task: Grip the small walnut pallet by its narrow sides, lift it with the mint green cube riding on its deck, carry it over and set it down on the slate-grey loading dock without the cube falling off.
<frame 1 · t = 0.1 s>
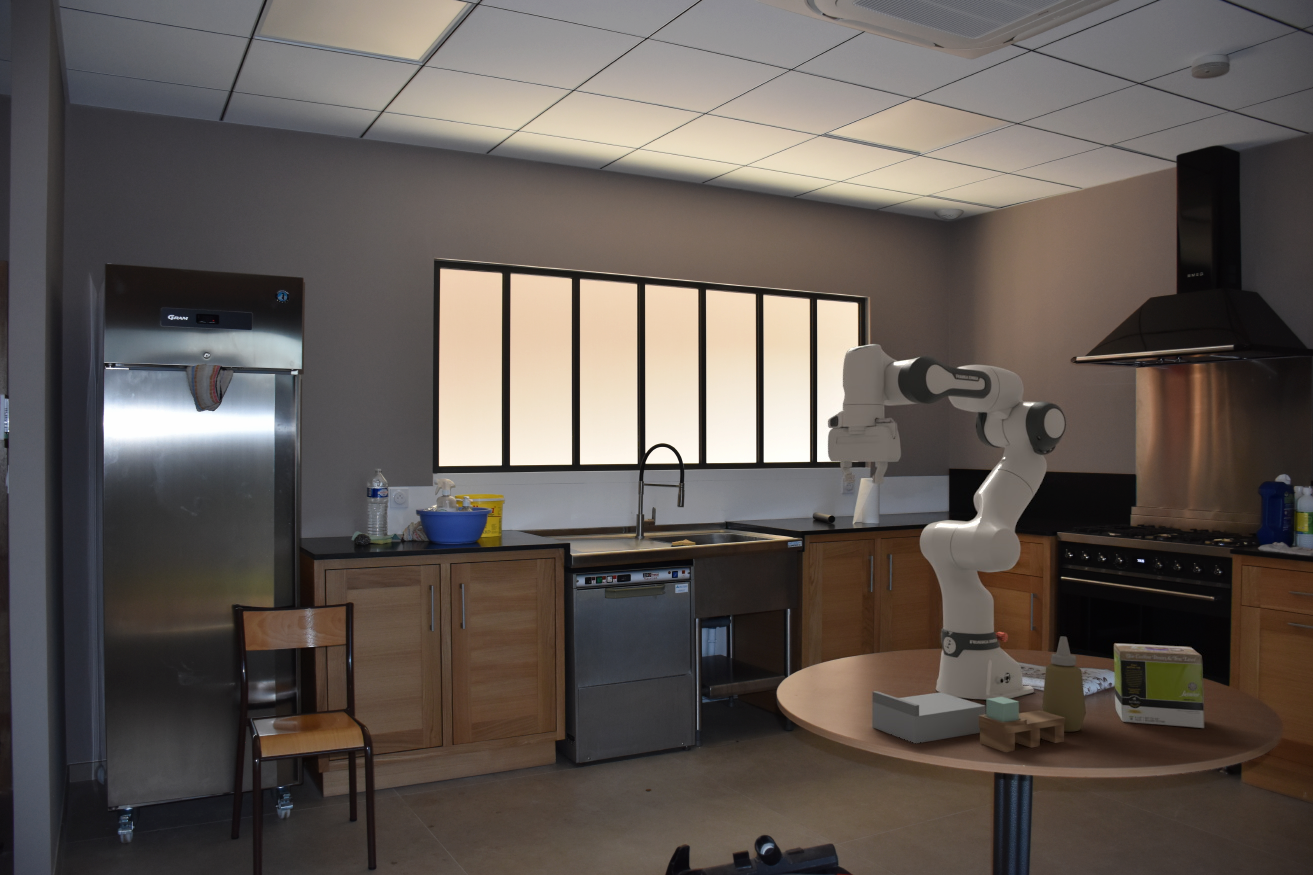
hand: (863, 483, 201), 48 cm above the table, tool pointing down, fingers open, 8 cm apart
dock: (928, 729, 183), on the table
mint green cube: (1002, 721, 173), point 4 cm above the table, touching pallet
squeeze bottle: (1063, 729, 185), on the table
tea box: (1157, 720, 192), on the table
pallet: (1022, 742, 176), on the table, touching mint green cube
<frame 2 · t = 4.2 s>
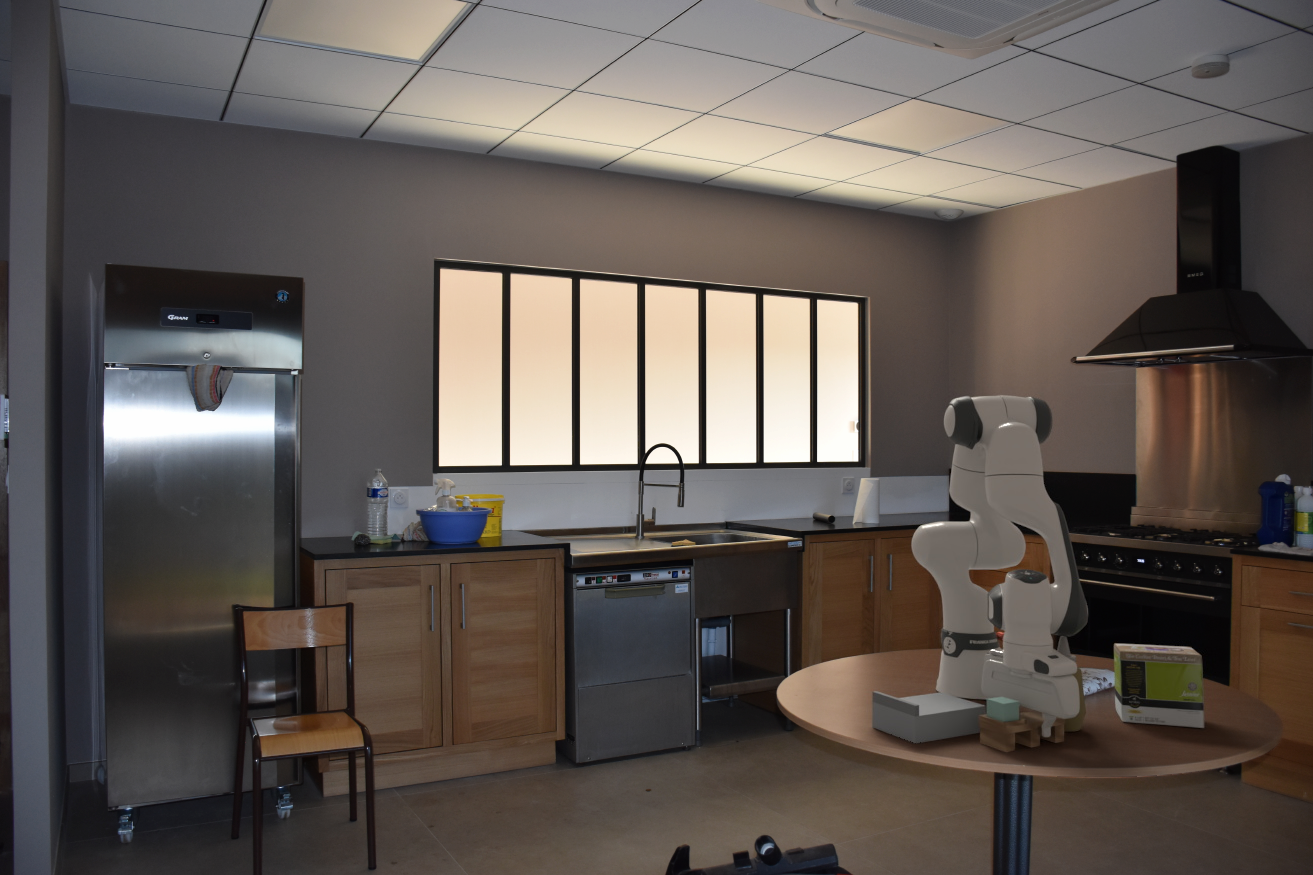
hand: (1028, 730, 176), 2 cm above the table, tool pointing down, fingers closed on pallet, 6 cm apart
pallet: (1022, 742, 176), on the table, touching mint green cube, gripper
everything else where it was.
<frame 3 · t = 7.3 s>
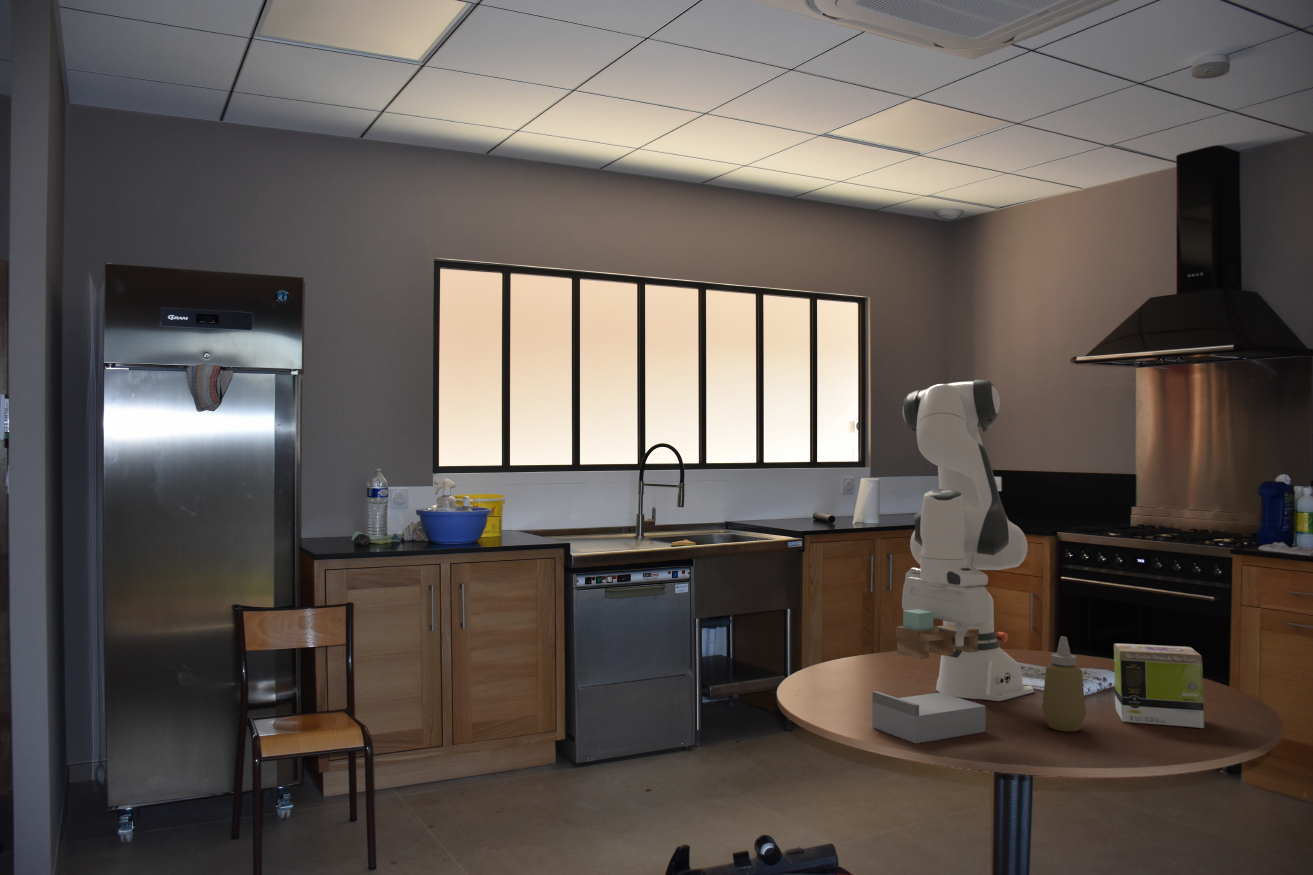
hand: (943, 642, 184), 17 cm above the table, tool pointing down, fingers closed on pallet, 6 cm apart
mint green cube: (918, 632, 181), point 19 cm above the table, touching pallet
pallet: (937, 652, 184), point 15 cm above the table, touching mint green cube, gripper
everything else where it was.
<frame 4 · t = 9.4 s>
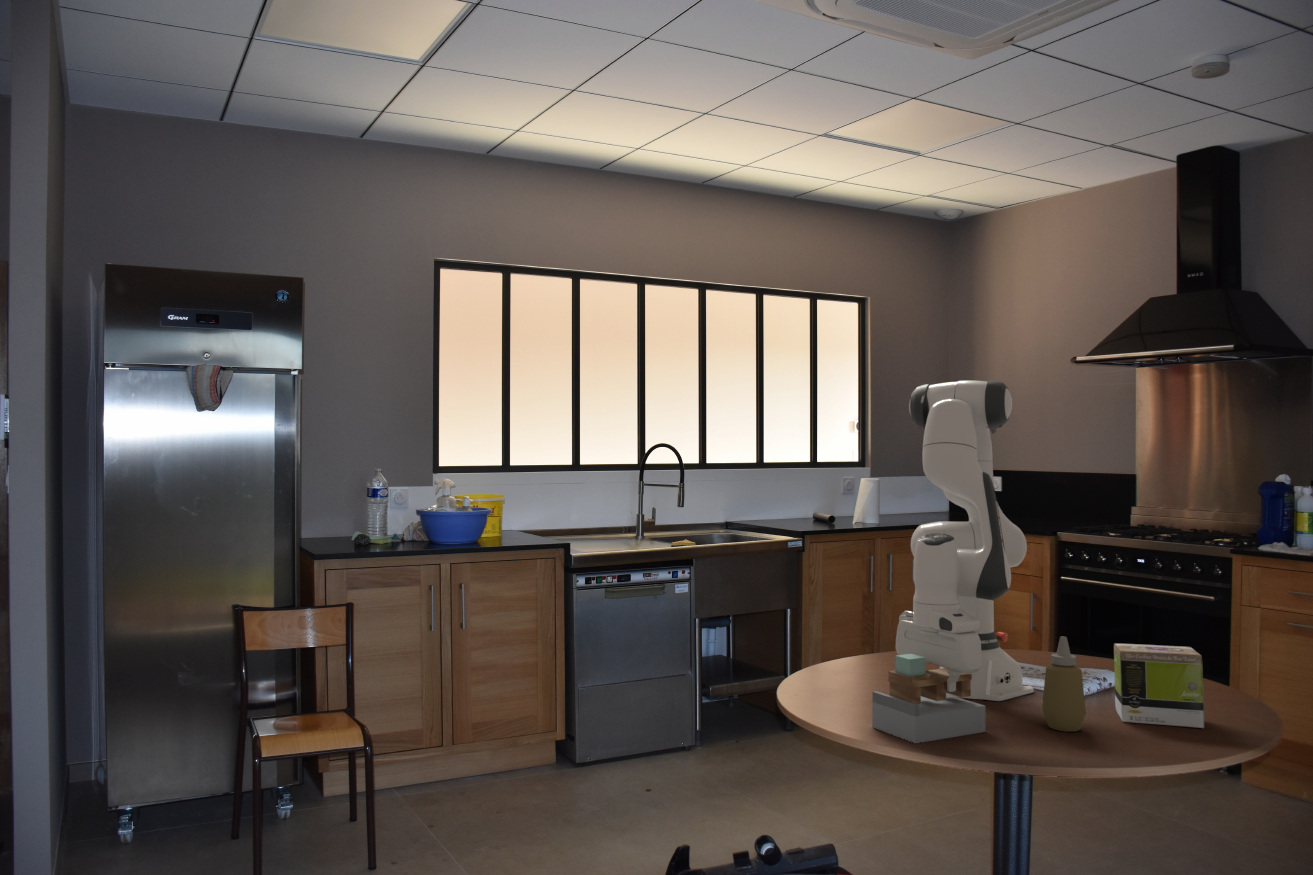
hand: (936, 686, 185), 8 cm above the table, tool pointing down, fingers closed on pallet, 6 cm apart
mint green cube: (910, 677, 182), point 11 cm above the table, touching pallet
pallet: (930, 696, 184), point 6 cm above the table, touching mint green cube, gripper
everything else where it was.
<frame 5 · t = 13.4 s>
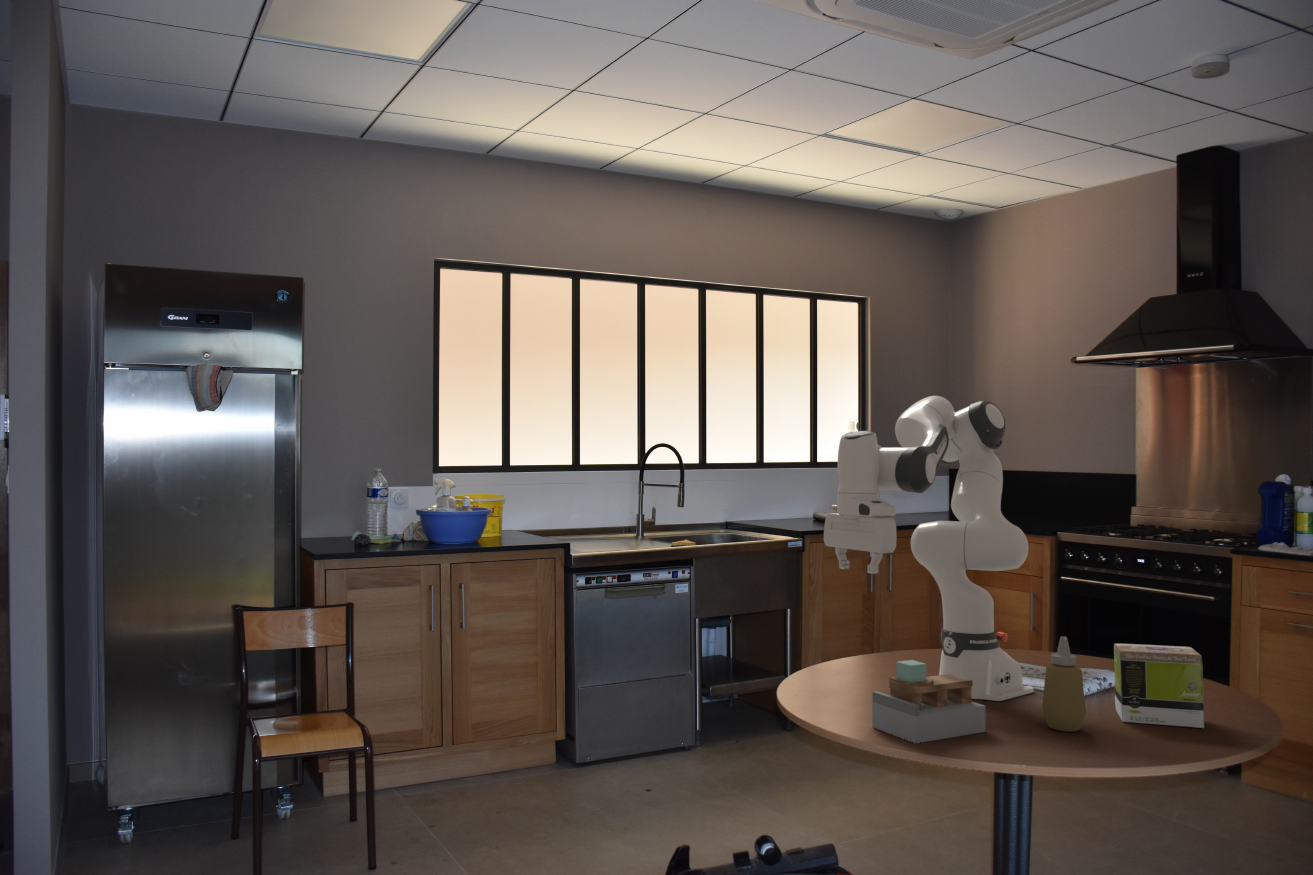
hand: (858, 570, 200), 29 cm above the table, tool pointing down, fingers open, 8 cm apart
mint green cube: (911, 683, 182), point 9 cm above the table, touching pallet
pallet: (931, 703, 184), point 5 cm above the table, touching mint green cube, dock
everything else where it was.
at the end: pallet inside the target area on the dock (0.1 cm from its centre), point 5.0 cm above the dock's base; mint green cube 0.1 cm from the target spot on the pallet, point 4.4 cm above the pallet's base; pallet tilted 0° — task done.
